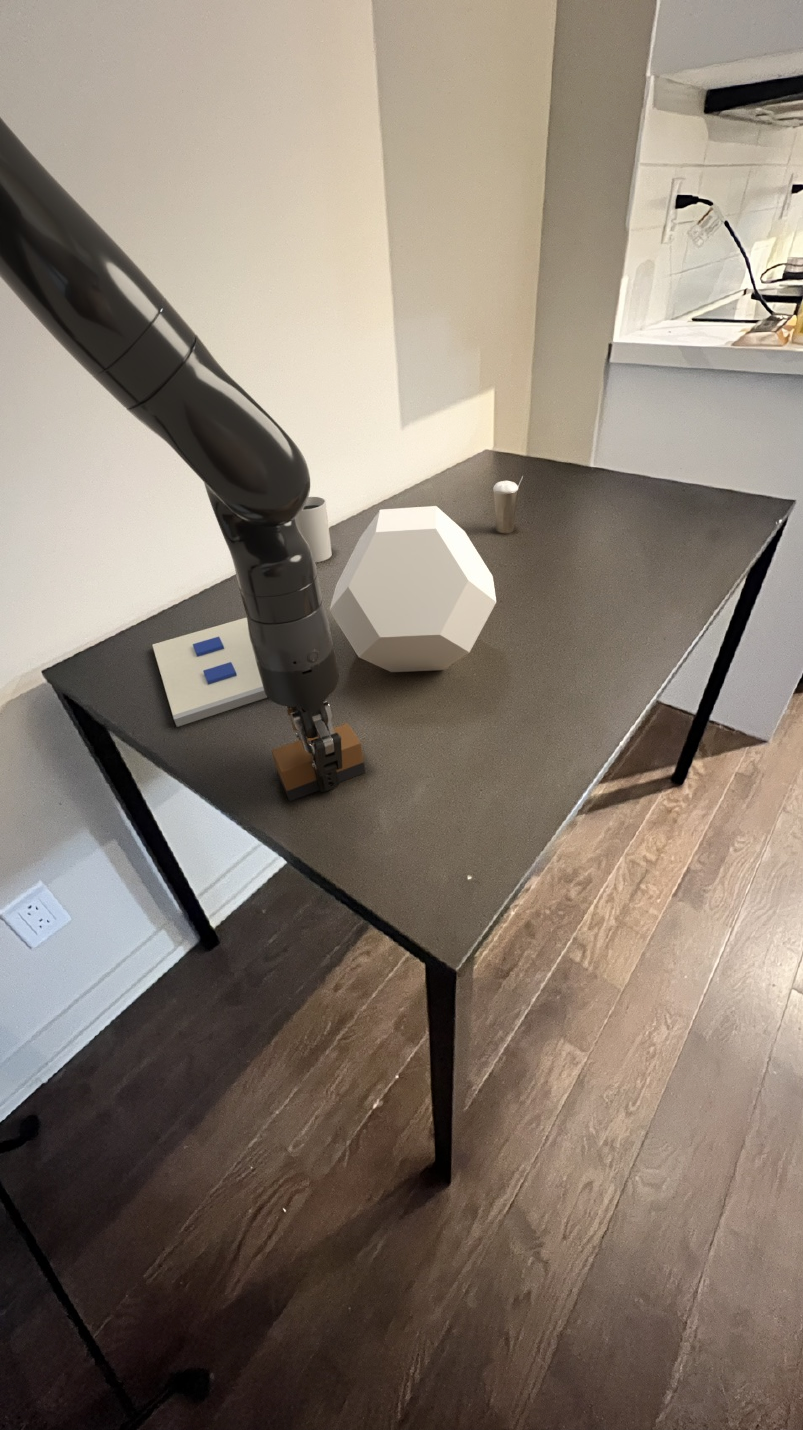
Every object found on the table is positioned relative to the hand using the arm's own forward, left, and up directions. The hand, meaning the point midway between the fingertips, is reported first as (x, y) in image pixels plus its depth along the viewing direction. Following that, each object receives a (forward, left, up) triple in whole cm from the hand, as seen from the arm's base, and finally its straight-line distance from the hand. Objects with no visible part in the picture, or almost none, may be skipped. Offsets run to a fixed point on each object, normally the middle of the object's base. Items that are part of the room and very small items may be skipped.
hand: (322, 774), depth 70 cm
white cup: (+19, +57, 0) cm, 60 cm away
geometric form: (+20, +16, 0) cm, 26 cm away
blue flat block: (-6, +33, +1) cm, 34 cm away
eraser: (0, 0, 0) cm, 0 cm away
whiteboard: (-6, +29, 0) cm, 30 cm away
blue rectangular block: (-6, +25, +1) cm, 26 cm away
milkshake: (+54, +46, 0) cm, 71 cm away
